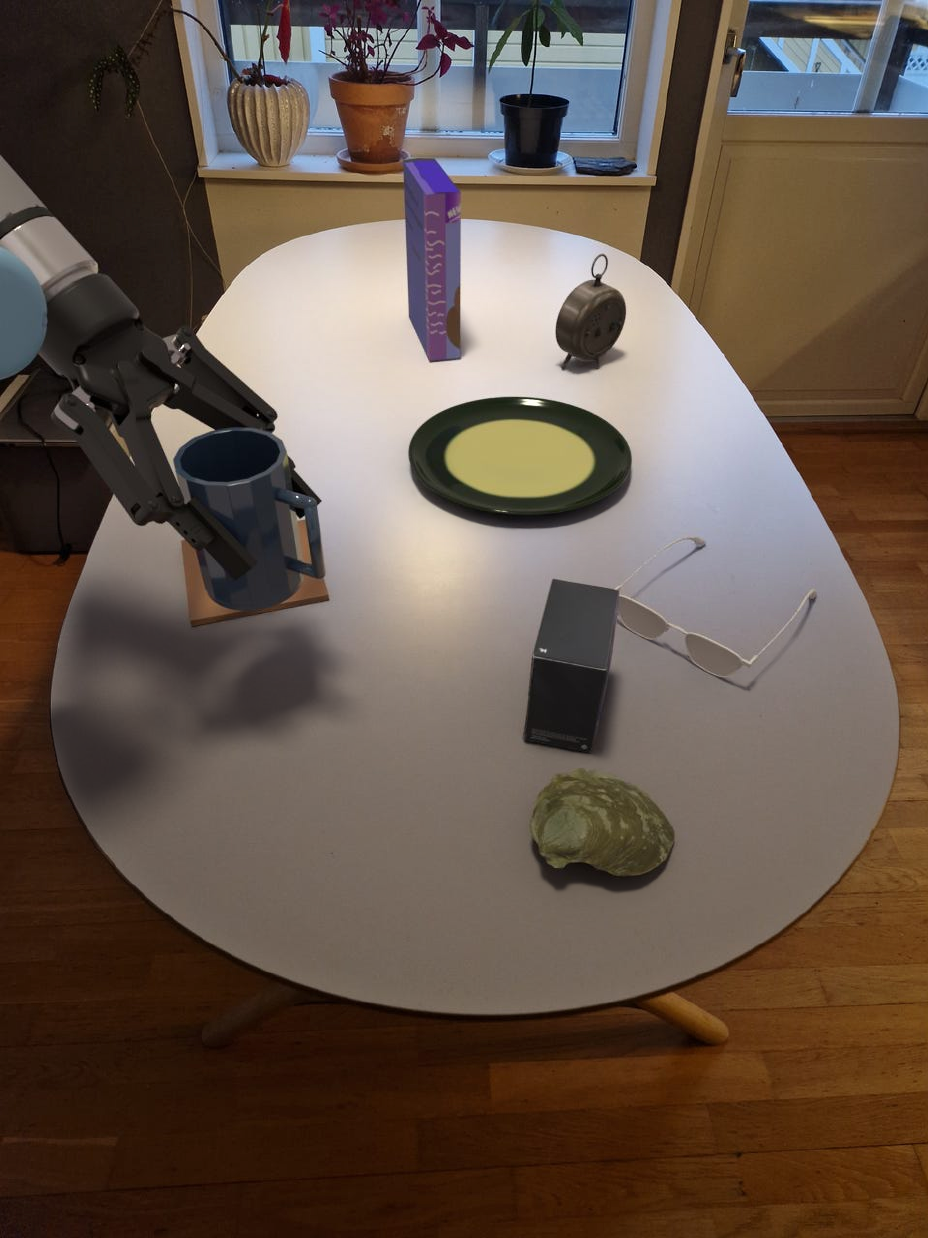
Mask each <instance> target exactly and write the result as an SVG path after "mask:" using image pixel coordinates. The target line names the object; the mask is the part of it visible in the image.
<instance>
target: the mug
mask: <svg viewBox="0 0 928 1238" xmlns="http://www.w3.org/2000/svg"><path fill="white" fill-rule="evenodd" d="M287 455H288V451H287V448H286V446H285V443H284V441H283V439H281V438H280V437H278V436H277V435H276V434H273V433H270V432H267V431H263V430H259V429H255V428H240V427H233V428H226V429H220V430H214V429H213V430H210V431H208V432H205V433H203V434H199V435H196V436H195V437H193V438H191V439H190V440H188V441H186V442H185V443H184V444H183V445H181V446H179V448H178V450H177V451H176V453H175V455H174V457H173V459H172V463H173V467H174V472H175V477H176V480H177V483H178V485H179V487H180V490H181V492H182V494H183V497H184V500H185V501H184V503H185V504H187V503H188V502H189V501H190V500H191V499H192V498H194V497H195V496H196V497H197V498H198V499H199V500H200V501H201V502H202V504H203V505H204V506H205V507H206V508H207V509H208V510H209V511H210V512H211V513H212V514H213V515H214V516H215V517H216V518H217V519H218V520H219V521H220V523H221V524H222V525H223V526H224V527H225V528H226V529H227V530H228V531H229V532H230V533H231V534H232V535H233V536H234V537H235V539H236V540H237V541H238V542H239V543H240V544H241V545H242V546H243V547H244V548H245V549H246V550H247V551H248V552H249V554H250V555H251V556H252V557H253V558H254V559H255V560H256V561H257V562H258V563H257V564H256V565H255V566H254V567H253V568H252V569H250V570H249V571H248V572H246V573H245V574H244V575H242V576H241V577H240V578H239V579H237V580H236V581H235V580H234V579H233V578H232V577H231V576H230V575H229V574H228V573H227V572H226V571H225V570H224V569H223V568H222V567H221V566H220V565H219V563H218V562H217V561H216V560H215V559H214V558H213V557H212V556H211V555H210V554H209V553H208V552H207V551H206V550H205V549H204V548H203V549H202V550H201V551H198V550H196V549H195V550H196V554H197V558H198V562H199V566H200V570H201V574H202V578H203V582H204V586H205V589H206V592H207V594H208V596H209V597H210V598H211V599H212V600H213V601H214V602H215V603H217V604H218V605H220V606H222V607H225V608H228V609H232V610H237V611H255V610H262V609H266V608H270V607H273V606H276V605H278V604H280V603H282V602H284V601H286V600H288V599H289V598H290V597H292V596H293V595H294V594H295V593H296V592H297V591H298V590H299V588H300V587H301V585H302V583H303V580H304V575H307V576H310V577H313V578H316V579H322V578H324V579H325V577H326V574H327V573H326V572H327V571H326V564H325V556H324V548H323V540H322V534H321V533H322V532H321V526H320V518H319V517H320V516H319V509H318V505H317V502H316V500H315V499H314V498H312V497H309V496H305V495H302V494H298V493H295V492H293V490H292V483H291V476H290V470H289V463H288V456H289V455H288V456H287ZM295 507H298V508H302V509H304V514H305V516H304V520H305V521H306V528H307V535H308V542H309V549H310V556H311V563H312V564H310V563H307V562H304V561H303V556H302V550H301V543H300V536H299V530H298V523H297V521H298V516H297V515H296V510H295Z"/></svg>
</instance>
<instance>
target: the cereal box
mask: <svg viewBox="0 0 928 1238" xmlns="http://www.w3.org/2000/svg"><path fill="white" fill-rule="evenodd" d="M402 166H403V167H402V171H403V197H404V198H403V200H404V219H405V220H404V223H405V224H404V225H405V249H406V250H405V251H406V253H405V254H406V279H407V305H408V306H407V307H408V318H409V320H410V322H411V324H412V327H413V329H414V331H415V333H416V335H417V338H418V340H419V342H420V345H421V347H422V349H423V351H424V354H425V355H426V358H427V359H428V362H429V363H436V362H445V361H446V362H447V361H457V360H461V286H462V285H461V284H462V283H461V281H462V280H461V271H462V270H461V267H462V266H461V265H462V263H461V262H462V261H461V260H462V255H461V254H462V252H461V249H462V244H461V243H462V235H461V234H462V216H461V215H462V192H461V191H460V189H459V188H458V187H457V185H456V184H455V182H453V180H452V179H451V177H450V176H449V175H448V174H447V173H446V171H445V170H444V169H443V167H442V166H441V164H440V163H439V162H438V161H437V159H436V158H434V157H413V158H409V159H403V160H402Z"/></svg>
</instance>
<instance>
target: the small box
mask: <svg viewBox="0 0 928 1238" xmlns="http://www.w3.org/2000/svg"><path fill="white" fill-rule="evenodd" d="M619 595H620V591H619V590H615V588H610V587H604V586H598V585H591V584H586V583H579V582H574V581H568V580H564V579H563V580H562V579H558V578H552V579H551V583H550V586H549V590H548V593H547V597H546V600H545V605H544V608H543V611H542V616H541V620H540V624H539V628H538V631H537V635H536V639H535V643H534V647H533V650H532V654H531V662H530V673H529V683H528V693H527V705H526V713H525V720H524V727H523V735H522V739H523V740H524V741H526V742H532V743H538V744H543V745H549V746H552V747H558V748H563V749H567V750H571V751H577V752H583V753H591V752H592V749H593V745H594V742H595V739H596V735H597V732H598V728H599V723H600V719H601V715H602V709H603V704H604V700H605V694H606V689H607V686H608V685H607V684H608V680H609V675H610V670H611V665H612V658H613V653H614V652H613V651H614V644H615V638H616V629H617V623H618V621H617V620H618V614H619V613H618V603H619Z"/></svg>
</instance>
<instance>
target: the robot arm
mask: <svg viewBox="0 0 928 1238" xmlns="http://www.w3.org/2000/svg"><path fill="white" fill-rule="evenodd" d="M38 355H39V356H40V357H41V359H43V360H44V361H45V362H46V363H47V365H48V366H49V367H50V368H51V369H52V370H53V371H54V372H55V373H56V374H57V375H58V376H60V377H62V378H66V379H68V381H69V383H70V384H71V387H72V390H73V391H72V392H71V393H69V392H67V393H64V394H63V395H62V396H61V398H60V399H59V402H58V403H57V404H56V406H55V408H54V409H53V411H52V413H51V414H50V418H51V420H52V422H53V423H54V424H55V425H57V426H58V427H59V428H60V429H61V430H63V431H64V432H65V433H66V434H68V436H70V437H71V438H73V439H74V440H75V442H76V443H77V444H78V445H79V447H80V449H81V450H82V451H83V452H84V455H86V457H87V458H88V460H89V461H90V463H91V464H92V465H93V467H94V468H95V470H96V471H97V472H98V474H99V475H100V477H101V478H102V480H103V481H104V482H105V484H106V485H107V487H108V488H109V490H110V491H111V492H112V494H113V495H114V497H115V498H116V499H117V501H118V502H119V503H120V505H121V506H122V508H123V509H124V511H125V512H126V513H127V515H128V517H129V519H131V521H132V522H133V523H134V524H135V525H137V526H139V527H143V526H146V525H147V524H149V523H152V522H154V523H156V524H159V525H164V524H165V523H166V522H167V523H168V524H169V525H170V526H171V527H172V528H173V529H174V530H175V531H176V532H177V533H178V535H180V536H181V537H182V538H183V540H186V541H187V542H188V543H189V544H190V545H191V546H192V548H194V549H196V550H198V551H201V550H202V549H203V548H204V549H205V550H206V551H207V552H208V553H209V554H210V555H211V556H212V557H213V558H214V559H215V560H216V561H217V562H218V563H219V565H220V566H221V567H222V568H223V569H224V570H225V571H226V572H227V573H228V574H229V575H230V576H231V577H232V578H233V579H234V580H235V581H236V580H237V579H239V578H240V577H241V576H242V575H244V574H245V573H246V572H248V571H249V570H250V569H252V568H253V567H254V566H255V565H256V564H257V563H258V562H257V561H256V560H255V559H254V558H253V557H252V556H251V555H250V554H249V552H248V551H247V550H246V549H245V548H244V547H243V546H242V545H241V544H240V543H239V542H238V541H237V540H236V539H235V537H234V536H233V535H232V534H231V533H230V532H229V531H228V530H227V529H226V528H225V527H224V526H223V525H222V524H221V523H220V521H219V520H218V519H217V518H216V517H215V516H214V515H213V514H212V513H211V512H210V511H209V510H208V509H207V508H206V507H205V506H204V505H203V504H202V502H201V501H200V500H199V499H198V498H197V497H196V496H195V497H194V498H192V499H191V500H190V501H189V502H188V503H187V504H185V503H184V501H185V500H184V497H183V494H182V492H181V490H180V487H179V484H178V480H177V477H176V475H175V474H174V471H173V468H172V466H171V464H170V462H169V459H168V457H167V455H166V453H165V451H164V448H163V445H162V443H161V440H160V438H159V436H158V434H157V432H156V429H155V427H154V424H153V422H152V410H153V409H156V408H159V407H160V406H162V405H163V406H165V407H167V408H168V409H170V410H179V411H181V412H183V413H184V414H186V415H188V416H190V417H191V418H193V419H195V420H197V421H198V422H200V423H202V424H203V425H205V426H207V427H209V428H210V429H212V430H213V431H214V430H220V429H226V428H233V427H240V428H255V429H259V430H263V431H267V432H270V433H272V434H273V433H274V432H275V430H276V425H275V423H274V422H276V420H277V419H278V417H279V416H278V412H277V410H275V409H274V407H272V406H271V405H270V404H269V403H268V402H267V401H266V400H265V399H263V398H262V397H261V396H260V395H259V394H258V393H256V391H255V390H253V389H252V388H251V387H250V386H249V385H247V384H246V382H244V381H243V380H242V379H240V377H239V376H237V375H236V374H235V373H234V372H233V371H231V369H229V368H228V367H227V366H226V365H225V364H224V363H223V362H221V361H220V360H219V359H218V358H217V357H216V356H215V355H213V354H212V353H211V352H210V351H209V350H208V349H207V348H206V347H205V345H204V344H203V343H202V341H201V340H200V338H199V337H198V335H197V334H196V333H195V331H194V330H193V329H192V327H190V326H188V325H182V326H180V327H179V329H178V330H177V331H176V332H175V334H172V335H168V336H165V337H161V336H160V335H158V334H156V333H155V332H153V331H151V330H150V329H148V328H147V327H146V326H145V325H144V323H143V321H142V318H141V316H140V313H139V310H138V308H137V306H136V305H135V304H134V303H133V302H132V301H131V300H130V298H129V297H128V296H127V295H126V294H125V292H123V290H122V289H121V288H120V287H119V286H118V285H117V284H116V283H115V282H114V281H113V279H112V278H111V277H110V276H109V275H108V274H103V273H100V272H99V264H98V262H97V261H96V260H95V259H94V258H93V256H91V254H89V252H88V251H87V250H86V249H85V248H84V247H83V245H82V244H81V243H79V241H78V240H77V239H76V238H75V237H74V235H72V234H71V232H69V231H68V229H67V228H66V227H65V226H64V225H63V224H62V223H61V221H59V219H57V217H56V216H54V215H53V214H52V213H51V211H50V210H49V209H48V207H47V206H46V205H45V204H44V203H43V201H42V200H41V199H39V197H38V196H37V195H36V194H35V193H34V192H33V190H32V189H31V188H30V187H29V186H28V185H27V184H26V183H25V181H24V180H23V179H22V178H21V177H20V175H18V173H17V172H16V171H15V170H14V168H12V166H11V165H10V164H9V163H8V162H7V161H6V160H5V159H4V157H3V156H2V155H1V154H0V381H1V380H4V379H7V378H10V377H12V376H15V375H16V374H18V373H19V372H21V371H22V370H24V369H25V368H26V367H27V366H29V365H30V364H31V363H32V361H33V360H34V359H35V358H36V357H37V356H38ZM176 385H177V386H176ZM95 408H99V409H101V410H104V411H106V412H108V415H109V418H110V419H111V422H112V424H113V427H114V429H115V431H116V434H117V436H118V437H119V438H122V439H123V441H124V444H125V445H126V448H127V450H128V452H129V455H130V456H129V455H128V454H127V452H126V451H125V449H124V448H123V447H122V445H121V444H120V442H119V441H118V440H117V438H116V436H115V435H114V434H113V432H112V431H111V429H110V428H109V427H108V425H107V424H106V422H105V421H104V420H103V419H102V417H101V416H99V414H98V413H97V411H96V409H95ZM287 456H288V463H289V470H290V476H291V483H292V490H293V492H295V493H298V494H302V495H305V496H309V497H312V498H314V499H315V500H316V502H317V506H319V505H320V504H321V503H322V502H323V500H321V498H320V497H319V496H318V495H317V493H316V492H315V491H314V490H313V489H312V488H311V487H310V486H309V484H308V483H306V481H305V480H304V479H303V478H302V477H301V475H300V474H299V473H298V472H297V471H296V470H295V468H297V466H296V464H295V462H294V460H293V459H292V458H291V457H290V456H289V455H288V454H287ZM130 457H131V458H130ZM295 510H296V516H297V519H298V518H299V520H302V518H305V514H304V509H302V508H298V507H295Z"/></svg>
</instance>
